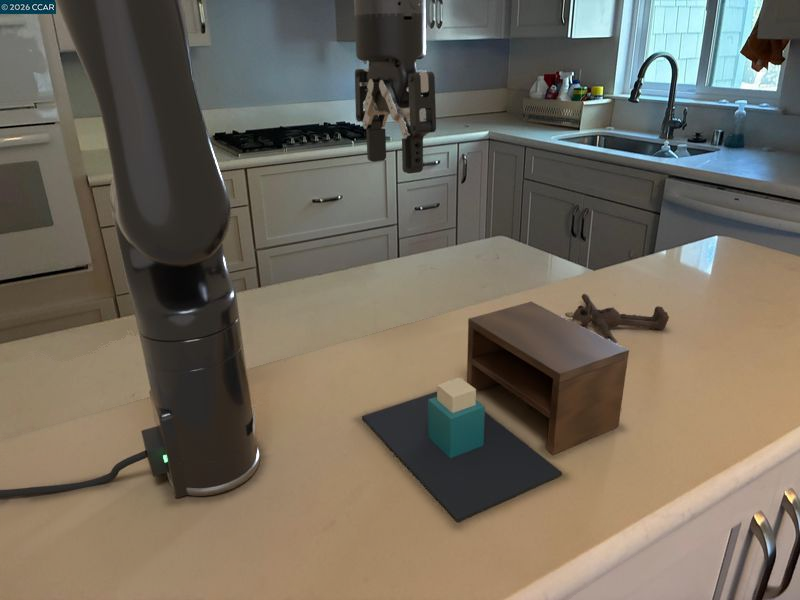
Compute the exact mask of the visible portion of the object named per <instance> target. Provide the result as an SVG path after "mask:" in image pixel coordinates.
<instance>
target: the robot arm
mask: <svg viewBox="0 0 800 600" xmlns="http://www.w3.org/2000/svg"><path fill="white" fill-rule="evenodd" d="M54 1H55V4H56V7H57V9H58V11H59V14H60V17H61V19H62V22H63V24H64V26H65V29H66V31H67V33H68V36H69V38H70V41H71V43H72V45H73V47H74V49H75V51H76V54H77V56H78V59H79V60H80V62H81V65H82V67H83V69H84V71H85V75H86V76H87V78H88V80H89V83H90V85H91V88H92V91H93V93H94V95H95V99H96V103H97V107H98V109H99V112H100V117H101V120H102V125H103V129H104V133H105V139H106V144H107V150H108V154H109V160H110V164H111V170H112V179H111V182H110V187H109V202H110V204H109V205H110V209H111V215H112V221H113V225H114V230H115V234H116V238H117V243H118V248H119V251H120V257H121V262H122V265H123V266H122V267H123V271H124V275H125V281H126V285H127V290H128V294H129V297H130V302H131V304H132V305H131V306H132V309H133V314H134V317H135V321H136V326H137V330H138V336H139V340H140V346H141V349H142V354H143V360H144V364H145V369H146V374H147V378H148V382H149V383H148V384H149V388H150V389H149V399H150V404H151V407H152V413H153V417H154V422H155V426H152V427H149V428H146V429H142V430H141V431H140V433H141V435H142V441H143V445H144V449H145V450H142V451H140V452H138V453H135V454H133V455H131V456H129V457H126V458H124V459H123V460H121V461H119V462H118V463H116V464H115V465H114V466H113V467H112V469H111V470H110V472H108V473H107V474H103V475H102V476H98V477H96V478H92V479H89V480H83V481H79V482H73V483H65V484H53V485H41V486H31V487H20V488H9V489H8V488H7V489H0V498H12V497H24V496H32V495H33V496H34V495H42V494H43V495H44V494H45V495H46V494H54V493H55V494H57V493H63V492H64V493H65V492H71V491H75V490H81V489H85V488H90V487H96V486H100V485H103V484H105V483H108V482H111V481H113V480H114V479H116V477H117V476H118V475H119V473H120V471H121V470H123V469H125V468H127V467H128V466H131V465H133V464H135V463H138V462H140V461H143V460H144V459H147V461H148V465H149V468H150V471H151V474H152V477H157V476H160V475H163V474H167V479H168V483H169V484H170V486H171V489H172V491H173V495H174V497H175V498H181V497H184V496H185V497H186V496H193V497H194V496H196V497H201V496H202V497H207V496H214V495H218V494H223V493H226V492H227V491H231V490H233V489H235V488H237V487H239V486H240V485H242V484H244V483H245V482H246V481H248V480H249V479H250V478H251V477H252V476H253V475H254V474H255V472H256V471H257V469H258V467H259V465H260V451H259V447H258V441H257V436H256V420H257V419H256V418H257V415H256V407H255V406H254V407H252V400H251V394H250V386H249V378H248V370H247V365H246V363H247V362H246V357H245V350H244V342H243V341H244V340H243V336H242V335H243V334H242V327H241V320H240V310H239V304H238V303H239V302H238V296H237V291H236V288H235V285H234V283H233V280H232V277H231V274H230V271H229V268H228V264H227V259H226V256H225V252H224V251H225V250H224V243H223V242H224V241H225V239H226V237H227V234H228V232H229V228H230V224H231V215H232V213H231V212H232V207H231V206H232V205H231V199H230V195H229V192H228V189H227V186H226V182H225V180H224V177H223V174H222V171H221V168H220V165H219V163H218V159H217V156H216V153H215V150H214V147H213V143H212V141H211V138H210V133H209V131H208V127H207V124H206V121H205V118H204V114H203V111H202V107H201V103H200V100H199V96H198V90H197V87H196V83H195V76H194V71H193V63H192V54H191V48H190V40H189V39H190V38H189V34H188V33H189V31H188V26H187V20H186V14H185V8H184V2H183V1H184V0H54ZM426 2H427V1H426V0H353V11H354V12H353V13H354V29H355V30H354V31H355V32H354V33H355V34H354V35H355V55H356V58H357V59H358V60H359V61H362V62H363V61H364V62H368V68H356V69H355V70H354V94H355V96H354V98H355V99H354V101H355V119H356V122H358V123H360V122H361V123H362V127H363V129H364V130H365V131H366V133H365V135H366V153H367V154H366V155H367V160H368V161H369V162H372V163H375V162H382V161H385V160H386V159H387V141H386V140H387V136H386V135H387V133H386V128H385V126H386V123H387V121H388V118H389V116H391V118H392V120H393V121H394V122H396V123H397V124H398V128H399V130H400V133H401V135H402V138H401V161H402V163H401V167H402V172H404V173H405V174H411V175H412V174H418V173H421V172H422V171H423V169H424V137H426V136H427V135H428V134H430V133H435V132H436V130H437V116H436V115H437V113H436V112H437V111H436V110H437V109H436V107H437V106H436V82H435V81H436V78H435V77H436V76H435V73H434V72H433V71H417V64H416V63H417V60H422V59H424V58H425V57H426V55H427V3H426ZM424 111H425V119H424V117H423V113H424Z"/></svg>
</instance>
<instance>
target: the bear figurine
mask: <svg viewBox="0 0 800 600" xmlns="http://www.w3.org/2000/svg"><path fill="white" fill-rule="evenodd" d="M581 299H582V302H583V303H584V304H585V305H578V307H577V308H576V309H575V311H574V312H565V313H564V315H565V316H566V317H567V318H572V320H571V321H572V322H574V323H576V324H578V325H580V326H582V327H584V328H586V327H587V326H588V325H589V324H590V323H592V325H593V326H594V327H597V328H598V329H599V330H600V331H601V333H602V335H603V337H604V338H606V339H608V340H610V341H612V342H614V343H616V344H618V341H617V339H616V338H615V337H614V335H613V334H612V332H611V329H610V328H617V327H618V326H625V327H636V328H648V329H650V330H653V329H657V330H659V331H664V330H665V329H666V327H667V324H668V322H669V320H670V316H669V315H668V314H669V313H668V312H667V311H665V309H664V308H663V306H661V305H660V306H658V305H657V306H655V307H654V311H653V314H652V315H651V316H648V315H647V316H646V315H636V314H626V313H620V312H619V311H618V310H617V309H616V308H615V307H613V306H612V307H606V308H602V309H598V308H597V306H596V305H595V304H594V303H593V302H592V300H591V298H590V296H589V295H588V294H587V293H586V294H585V293H583V294H581Z"/></svg>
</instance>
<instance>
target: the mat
mask: <svg viewBox="0 0 800 600" xmlns="http://www.w3.org/2000/svg"><path fill="white" fill-rule="evenodd" d="M434 397H437V391H434V392H431V393H428V394H424V395H422V396H419V397H416V398H413V399H409V400H407V401H404V402H401V403H397V404H395V405H392V406H388V407H386V408H382V409H380V410H376V411H373V412H370V413H367V414H365V415H362V416H361V419H362V420H363V422H364V423H365V424H366V425H367V426H368V427H369V428H370V429H371V430H372V432H374V434H375V435H376V436H377V437H378V438H379V439H380V440H381V441H382V442H383V443H384V445H385V446H387V448H389V450H390V451H391V452H392V453H393V454H394V455H395V457H396V458H398V460H399V461H400V462H401V463H402V464H403V465H404V466H405V467H406V468H407V470H408V471H410V473H411V474H412V475H413V477H415V478H416V480H418V481H419V483H420V484H421V485H423V487H424V488H425V489H426V490H427V491H428V492H429V494H430V495H432V497H433V498H434V499H435V500H436V501H437V502H438V503H439V504H440V505H441V506H442V508H443V509H444V510H445V511H446V512H447V514H449V515H450V516H451V517H452V519H454V520H455V522H456V523H460V522H463V521H465V520H466V519H468V518H470V517H473V516H475V515H477V514H480V513H482V512H485V511H486V510H488V509H491V508H493V507H495V506H497V505H500V504H502V503H504V502H506V501H509V500H510V499H513V498H515V497H517V496H520V495H522V494H524V493H526V492H528V491H532V490H533V489H536V488H537V487H541V486H542V485H544V484H546V483H548V482H550V481H551V482H552V481H553V480H555V479H557V478H560V477H562V476H563V472H562V471H561V470H560V469H558V468H557V467H556V466H555V465H554V464H552V463H551V462H550V461H548V460H547V459H545V458H544V457H543V456H542V455H541V454H539V452H537V451H536V450H534V449H533V448H532V447H530V446H529V445H528V444H526V442H524V441H523V440H521V439H520V438H519V437H518V436H516V435H515V434H514V433H513V432H511V431H510V430H509V429H508V428H506V427H505V426H503V425H502V424H501V423H500V422H498V421H497V420H496V419H494V417H492V416H491V415H490V414H488V412H486V411H485V417H484V444H483V446H481V447H478V448H475V449H473V450H470V451H468V452H465V453H463V454H460V455H458V456H455V457H453V458H449V457H448V456H447V455H446V454H445V453H444V452H443V451H442V450H441V449H440V448H439V447H438V446H437V445H436V444H435V443H434V442H433V441H432V440H431V439H429V437H428V400H429V399H431V398H434Z"/></svg>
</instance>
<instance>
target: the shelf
mask: <svg viewBox="0 0 800 600" xmlns="http://www.w3.org/2000/svg"><path fill="white" fill-rule="evenodd" d="M467 319H468V320H467V324H468V325H467V329H468V330H467V360H466V361H467V362H466V363H467V364H466V382H467V383H468V384H470V385H471V386H472V387H474V388H475V389H476V391H479V390H482V389H486V388H488V387H490V386H491V387H492V386H495V385H498V384H500V385H501V386H503V387H504V389H505V388H506V389H507V390H508V391H510V392H511V393H512V394H514V395H515V396H516V397H518V398H520V400H523V401H524V402H525V403H526V404H527V405H530V406H531V407H532V408H533V409H536V410H537V411H538V412H540V413H541V414H542V415H544V416H545V417H547V418H548V419H549V421H548V431H547V433H548V434H547V445H546V451H547V452H548V453H550V455H553V456H554V455H556V454H558V453H561V452H563V451H566V450H567V449H570V448H572V447H575V446H577V445H580V444H582V443H584V442H587V441H589V440H591V439H593V438H596V437H599V436H601V435H603V434H605V433H608V432H610V431H612V430H615V429H617V428H619V426H620V419H621V410H622V404H623V398H624V397H623V396H624V389H625V382H626V375H627V368H628V360H629V353H630V349H628V348H626V347H624V346H622V345H621V344H618V343H617V344H616V343H614V342H612V341H610V340H608V339H606V338H605V336H602V335H600V334H598V333H596V332H593V331H592V330H589V329H587V328H586V327H585V328H584V327H582V326H580V325H578V324H576V323H574V322H572V320H570V319H567V318H565V317H564V316H562V315H559V314H557V313H556V312H553V311H552V310H549V309H548V308H545V307H543V306H542V305H539V304H537V303H536V302H533V301H528V302H524V303H521V304H516V305H513V306H509V307H505V308H502V309H498V310H495V311H491V312H488V313H483V314H481V315H477V316H473V317H469V318H467Z"/></svg>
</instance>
